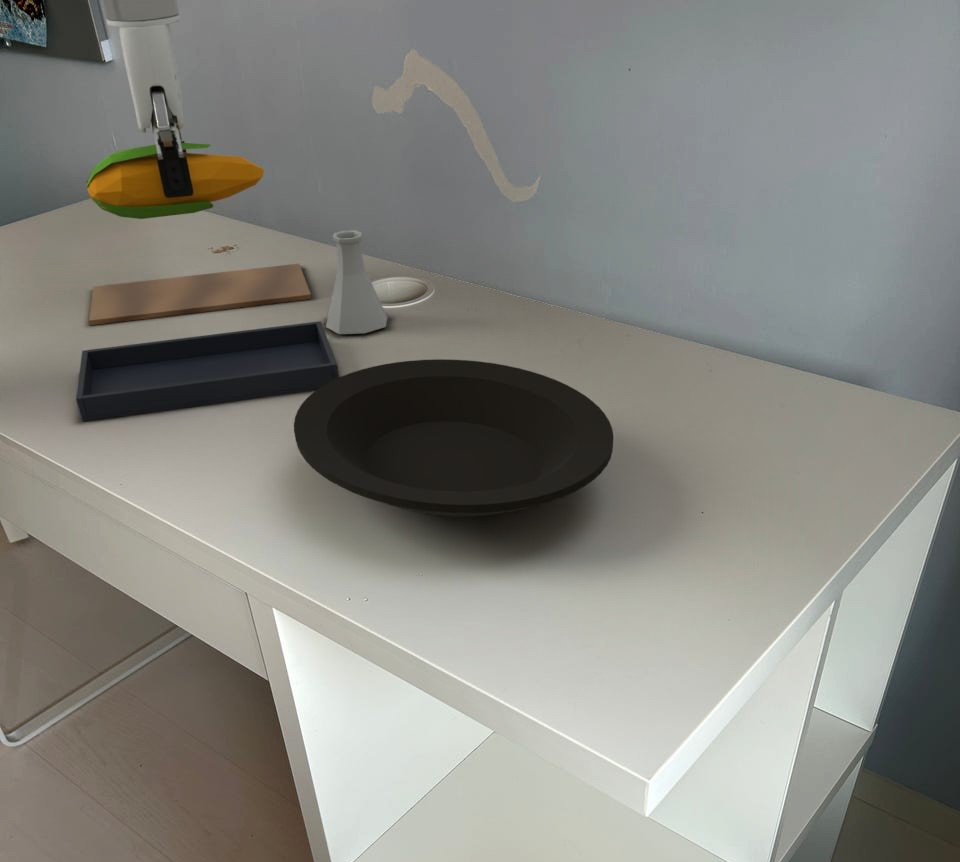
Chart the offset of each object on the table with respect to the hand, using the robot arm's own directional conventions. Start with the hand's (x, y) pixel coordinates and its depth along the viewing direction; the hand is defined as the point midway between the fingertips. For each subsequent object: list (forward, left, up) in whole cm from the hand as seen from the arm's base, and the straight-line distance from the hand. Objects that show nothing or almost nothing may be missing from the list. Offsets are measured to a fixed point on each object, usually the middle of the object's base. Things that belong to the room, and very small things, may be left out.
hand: (178, 186), depth 114 cm
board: (0, 0, -13) cm, 13 cm away
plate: (+19, -55, -13) cm, 59 cm away
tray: (0, -26, -13) cm, 29 cm away
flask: (+17, -16, -13) cm, 27 cm away
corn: (0, 0, -3) cm, 3 cm away
